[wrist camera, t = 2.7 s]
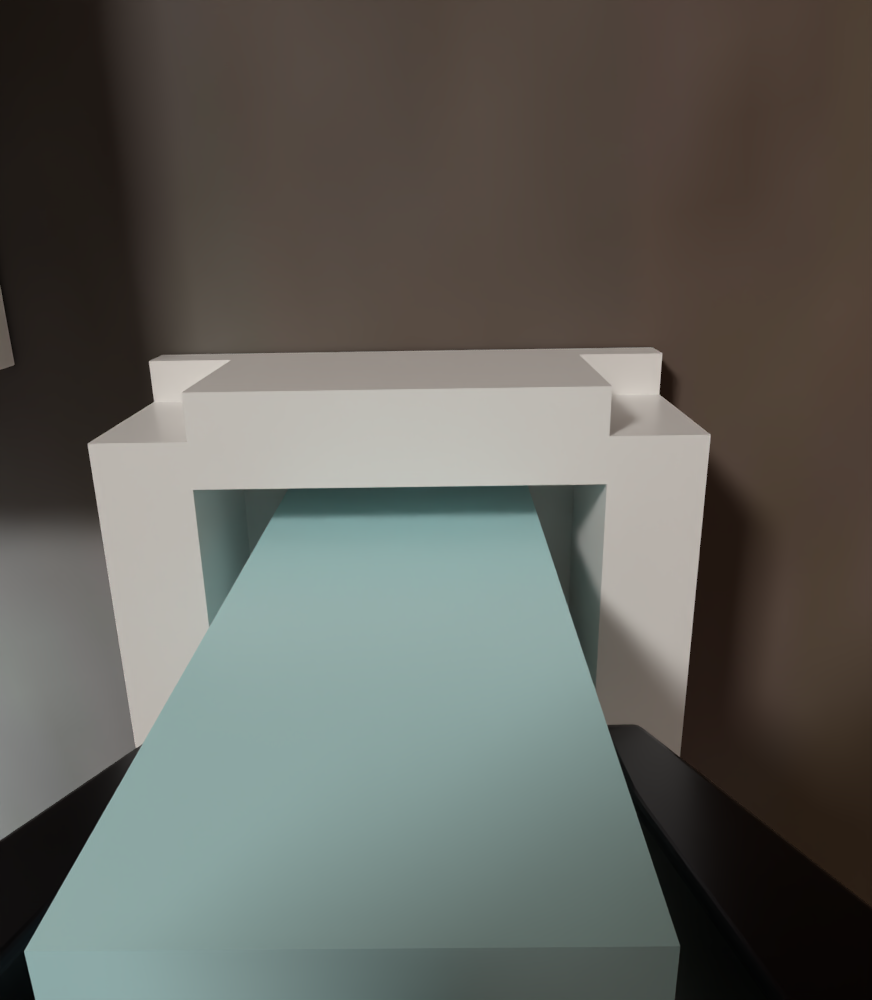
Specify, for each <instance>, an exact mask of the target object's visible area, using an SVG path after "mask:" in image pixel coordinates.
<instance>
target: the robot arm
mask: <svg viewBox="0 0 872 1000" xmlns="http://www.w3.org/2000/svg"><path fill="white" fill-rule="evenodd" d="M607 727H608V730H609V733H610V736H611V739H612V742H613V745H614V748H615V751H616V754H617V757H618V760H619V763H620V766H621V769H622V772H623V775H624V778H625V781H626V784H627V787H628V790H629V793H630V796H631V799H632V802H633V805H634V808H635V811H636V814H637V817H638V820H639V823H640V826H641V829H642V832H643V835H644V838H645V841H646V844H647V847H648V850H649V853H650V856H651V859H652V862H653V866H654V869H655V872H656V875H657V878H658V881H659V884H660V887H661V890H662V893H663V896H664V899H665V902H666V905H667V908H668V911H669V914H670V917H671V920H672V923H673V926H674V929H675V932H676V935H677V938H678V941H679V944H680V953H679V963H678V972H677V982H676V992H675V1000H872V907H871V906H869V905H868V904H867V903H866V902H864V901H863V900H862V899H860V898H859V897H858V896H857V895H855V894H854V893H853V892H852V891H850V890H849V889H848V888H846V887H845V886H844V885H843V884H841V883H840V882H839V881H838V880H836V879H835V878H834V877H832V876H831V875H830V874H829V873H827V872H826V871H825V870H823V869H822V868H821V867H820V866H818V865H817V864H816V863H815V862H813V861H812V860H811V859H809V858H808V857H807V856H806V855H804V854H803V853H802V852H800V851H799V850H798V849H797V848H795V847H794V846H793V845H792V844H790V843H789V842H788V841H786V840H785V839H784V838H783V837H781V836H780V835H779V834H778V833H776V832H775V831H774V830H772V829H771V828H770V827H769V826H767V825H766V824H765V823H763V822H762V821H761V820H760V819H758V818H757V817H756V816H755V815H753V814H752V813H751V812H749V811H748V810H747V809H746V808H744V807H743V806H742V805H740V804H739V803H738V802H737V801H735V800H734V799H733V798H732V797H730V796H729V795H728V794H726V793H725V792H724V791H723V790H721V789H720V788H719V787H718V786H716V785H715V784H714V783H712V782H711V781H710V780H709V779H707V778H706V777H705V776H703V775H702V774H701V773H700V772H698V771H697V770H696V769H695V768H693V767H692V766H691V765H689V764H688V763H687V762H686V761H684V760H683V759H682V758H680V757H679V756H678V755H677V754H675V753H674V752H673V751H672V750H670V749H669V748H668V747H666V746H665V745H664V744H663V743H661V742H660V741H659V740H657V739H656V738H655V737H654V736H652V735H651V734H650V733H649V732H647V731H646V730H645V729H643V728H642V727H640V726H639V725H635V724H620V725H607ZM141 746H142V745H140V746H139V747H137V748H136V749H134V750H133V751H131V752H130V753H128V754H127V755H125V756H124V757H123V758H121V759H120V760H118V761H117V762H115V763H114V764H112V765H111V766H109V767H108V768H106V769H105V770H103V771H102V772H100V773H99V774H97V775H96V776H95V777H93V778H92V779H90V780H89V781H87V782H86V783H84V784H83V785H81V786H80V787H78V788H77V789H75V790H74V791H72V792H71V793H69V794H68V795H67V796H65V797H64V798H62V799H61V800H59V801H58V802H56V803H55V804H53V805H52V806H50V807H49V808H47V809H46V810H44V811H43V812H41V813H40V814H39V815H37V816H36V817H34V818H33V819H31V820H30V821H28V822H27V823H25V824H24V825H22V826H21V827H19V828H18V829H16V830H15V831H13V832H12V833H11V834H9V835H8V836H6V837H5V838H3V839H2V840H0V1000H35V996H34V992H33V988H32V983H31V979H30V975H29V971H28V966H27V962H26V958H25V953H24V951H25V949H26V947H27V945H28V944H29V942H30V940H31V938H32V937H33V935H34V933H35V931H36V930H37V928H38V926H39V924H40V923H41V921H42V919H43V917H44V916H45V914H46V912H47V910H48V909H49V907H50V905H51V903H52V902H53V900H54V898H55V896H56V895H57V893H58V891H59V889H60V888H61V886H62V884H63V882H64V881H65V879H66V877H67V875H68V874H69V872H70V870H71V868H72V867H73V865H74V863H75V861H76V860H77V858H78V856H79V854H80V853H81V851H82V849H83V847H84V846H85V844H86V842H87V840H88V839H89V837H90V835H91V833H92V832H93V830H94V828H95V826H96V825H97V823H98V821H99V819H100V818H101V816H102V814H103V812H104V811H105V809H106V807H107V805H108V804H109V802H110V800H111V798H112V797H113V795H114V793H115V791H116V790H117V788H118V786H119V784H120V783H121V781H122V779H123V777H124V776H125V774H126V772H127V770H128V769H129V767H130V765H131V763H132V762H133V760H134V758H135V756H136V755H137V753H138V751H139V749H140V748H141Z"/></svg>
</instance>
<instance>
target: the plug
mask: <svg viewBox="0 0 872 1000" xmlns="http://www.w3.org/2000/svg"><path fill="white" fill-rule="evenodd" d="M24 953H25V958H26V962H27V966H28V971H29V975H30V979H31V983H32V988H33V992H34V996H35V1000H675V992H676V982H677V972H678V963H679V953H680V944H679V941H678V938H677V935H676V932H675V929H674V926H673V923H672V920H671V917H670V914H669V911H668V908H667V905H666V902H665V899H664V896H663V893H662V890H661V887H660V884H659V881H658V878H657V875H656V872H655V869H654V866H653V862H652V859H651V856H650V853H649V850H648V847H647V844H646V841H645V838H644V835H643V832H642V829H641V826H640V823H639V820H638V817H637V814H636V811H635V808H634V805H633V802H632V799H631V796H630V793H629V790H628V787H627V784H626V781H625V778H624V775H623V772H622V769H621V766H620V763H619V760H618V757H617V754H616V751H615V748H614V745H613V742H612V739H611V736H610V733H609V730H608V727H607V724H606V720H605V717H604V714H603V711H602V708H601V705H600V702H599V699H598V696H597V693H596V690H595V687H594V684H593V681H592V678H591V675H590V672H589V669H588V666H587V663H586V660H585V657H584V654H583V651H582V648H581V645H580V642H579V639H578V636H577V633H576V630H575V627H574V624H573V621H572V618H571V615H570V612H569V609H568V606H567V603H566V600H565V597H564V594H563V591H562V588H561V585H560V581H559V578H558V575H557V572H556V569H555V566H554V563H553V560H552V557H551V554H550V551H549V548H548V545H547V542H546V539H545V536H544V533H543V530H542V527H541V524H540V521H539V518H538V515H537V512H536V509H535V506H534V503H533V500H532V497H531V494H530V491H529V488H528V485H515V486H442V487H368V488H295V489H288V490H287V492H286V494H285V496H284V497H283V499H282V501H281V503H280V504H279V506H278V508H277V510H276V511H275V513H274V515H273V517H272V518H271V520H270V522H269V524H268V525H267V527H266V529H265V531H264V532H263V534H262V536H261V538H260V539H259V541H258V543H257V545H256V546H255V548H254V550H253V552H252V553H251V555H250V557H249V559H248V560H247V562H246V564H245V566H244V567H243V569H242V571H241V573H240V574H239V576H238V578H237V580H236V581H235V583H234V585H233V587H232V588H231V590H230V592H229V594H228V595H227V597H226V599H225V601H224V602H223V604H222V606H221V608H220V609H219V611H218V613H217V615H216V616H215V618H214V620H213V622H212V623H211V625H210V627H209V629H208V630H207V632H206V634H205V636H204V637H203V639H202V641H201V643H200V644H199V646H198V648H197V650H196V651H195V653H194V655H193V657H192V658H191V660H190V662H189V664H188V665H187V667H186V669H185V671H184V672H183V674H182V676H181V678H180V679H179V681H178V683H177V685H176V686H175V688H174V690H173V692H172V693H171V695H170V697H169V699H168V700H167V702H166V704H165V706H164V707H163V709H162V711H161V713H160V714H159V716H158V718H157V720H156V721H155V723H154V725H153V727H152V728H151V730H150V732H149V734H148V735H147V737H146V739H145V741H144V742H143V744H142V746H141V748H140V749H139V751H138V753H137V755H136V756H135V758H134V760H133V762H132V763H131V765H130V767H129V769H128V770H127V772H126V774H125V776H124V777H123V779H122V781H121V783H120V784H119V786H118V788H117V790H116V791H115V793H114V795H113V797H112V798H111V800H110V802H109V804H108V805H107V807H106V809H105V811H104V812H103V814H102V816H101V818H100V819H99V821H98V823H97V825H96V826H95V828H94V830H93V832H92V833H91V835H90V837H89V839H88V840H87V842H86V844H85V846H84V847H83V849H82V851H81V853H80V854H79V856H78V858H77V860H76V861H75V863H74V865H73V867H72V868H71V870H70V872H69V874H68V875H67V877H66V879H65V881H64V882H63V884H62V886H61V888H60V889H59V891H58V893H57V895H56V896H55V898H54V900H53V902H52V903H51V905H50V907H49V909H48V910H47V912H46V914H45V916H44V917H43V919H42V921H41V923H40V924H39V926H38V928H37V930H36V931H35V933H34V935H33V937H32V938H31V940H30V942H29V944H28V945H27V947H26V949H25V951H24Z"/></svg>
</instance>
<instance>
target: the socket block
mask: <svg viewBox="0 0 872 1000" xmlns="http://www.w3.org/2000/svg"><path fill="white" fill-rule="evenodd" d="M13 365H15V364H14V358H13V353H12V347H11V342H10V336H9V331H8V326H7V320H6V315H5V309H4V304H3V298H2V293H1V287H0V370H1V369H4V368H7V367H10V366H13Z"/></svg>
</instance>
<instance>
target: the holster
mask: <svg viewBox="0 0 872 1000" xmlns="http://www.w3.org/2000/svg"><path fill="white" fill-rule="evenodd" d="M661 365H662V353H661V352H659V351H658V350H656V349H654V348H653V347H638V348H573V349H508V350H443V351H378V352H313V353H248V354H183V355H161V356H159V357H157V358H154V359H152V360H150V361H149V366H150V374H151V382H152V389H153V397H154V402H153V403H151V404H150V405H148V406H147V407H145V408H144V409H142V410H140V411H139V412H137V413H136V414H134V415H132V416H131V417H129V418H128V419H126V420H124V421H123V422H121V423H120V424H118V425H116V426H115V427H113V428H112V429H110V430H108V431H107V432H105V433H104V434H102V435H100V436H99V437H97V438H96V439H94V440H92V441H91V442H89V443H88V451H89V457H90V463H91V470H92V476H93V482H94V488H95V495H96V501H97V507H98V514H99V520H100V526H101V532H102V539H103V545H104V551H105V558H106V564H107V570H108V576H109V583H110V589H111V595H112V602H113V608H114V614H115V620H116V627H117V633H118V639H119V646H120V652H121V658H122V664H123V671H124V677H125V683H126V690H127V696H128V702H129V708H130V715H131V721H132V727H133V734H134V740H135V746H136V748H137V747H139V746H140V745H142V744H143V742H144V741H145V739H146V737H147V735H148V734H149V732H150V730H151V728H152V727H153V725H154V723H155V721H156V720H157V718H158V716H159V714H160V713H161V711H162V709H163V707H164V706H165V704H166V702H167V700H168V699H169V697H170V695H171V693H172V692H173V690H174V688H175V686H176V685H177V683H178V681H179V679H180V678H181V676H182V674H183V672H184V671H185V669H186V667H187V665H188V664H189V662H190V660H191V658H192V657H193V655H194V653H195V651H196V650H197V648H198V646H199V644H200V643H201V641H202V639H203V637H204V636H205V634H206V632H207V630H208V629H209V627H210V625H211V623H212V622H213V620H214V618H215V616H216V615H217V613H218V611H219V609H220V608H221V606H222V604H223V602H224V601H225V599H226V597H227V595H228V594H229V592H230V590H231V588H232V587H233V585H234V583H235V581H236V580H237V578H238V576H239V574H240V573H241V571H242V569H243V567H244V566H245V564H246V562H247V560H248V559H249V557H250V555H251V553H252V552H253V550H254V548H255V546H256V545H257V543H258V541H259V539H260V538H261V536H262V534H263V532H264V531H265V529H266V527H267V525H268V524H269V522H270V520H271V518H272V517H273V515H274V513H275V511H276V510H277V508H278V506H279V504H280V503H281V501H282V499H283V497H284V496H285V494H286V492H287V490H288V489H295V488H368V487H442V486H515V485H528V488H529V491H530V494H531V497H532V500H533V503H534V506H535V509H536V512H537V515H538V518H539V521H540V524H541V527H542V530H543V533H544V536H545V539H546V542H547V545H548V548H549V551H550V554H551V557H552V560H553V563H554V566H555V569H556V572H557V575H558V578H559V581H560V585H561V588H562V591H563V594H564V597H565V600H566V603H567V606H568V609H569V612H570V615H571V618H572V621H573V624H574V627H575V630H576V633H577V636H578V639H579V642H580V645H581V648H582V651H583V654H584V657H585V660H586V663H587V666H588V669H589V672H590V675H591V678H592V681H593V684H594V687H595V690H596V693H597V696H598V699H599V702H600V705H601V708H602V711H603V714H604V717H605V720H606V724H607V725H620V724H635V725H639V726H640V727H642V728H643V729H645V730H646V731H647V732H649V733H650V734H651V735H652V736H654V737H655V738H656V739H657V740H659V741H660V742H661V743H663V744H664V745H665V746H666V747H668V748H669V749H670V750H672V751H673V752H674V753H675V754H677V755H678V756H679V757H680V751H681V741H682V730H683V720H684V709H685V699H686V688H687V678H688V667H689V657H690V646H691V636H692V625H693V615H694V605H695V594H696V584H697V573H698V563H699V552H700V542H701V531H702V521H703V510H704V500H705V489H706V479H707V468H708V458H709V447H710V437H711V435H710V434H709V433H708V432H707V431H705V430H704V429H703V428H701V427H700V426H699V425H698V424H696V423H695V422H694V421H693V420H691V419H690V418H689V417H687V416H686V415H685V414H684V413H682V412H681V411H680V410H679V409H677V408H676V407H675V406H673V405H672V404H671V403H670V402H668V401H667V400H666V399H665V398H663V397H662V396H661V395H659V392H660V379H661Z"/></svg>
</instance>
